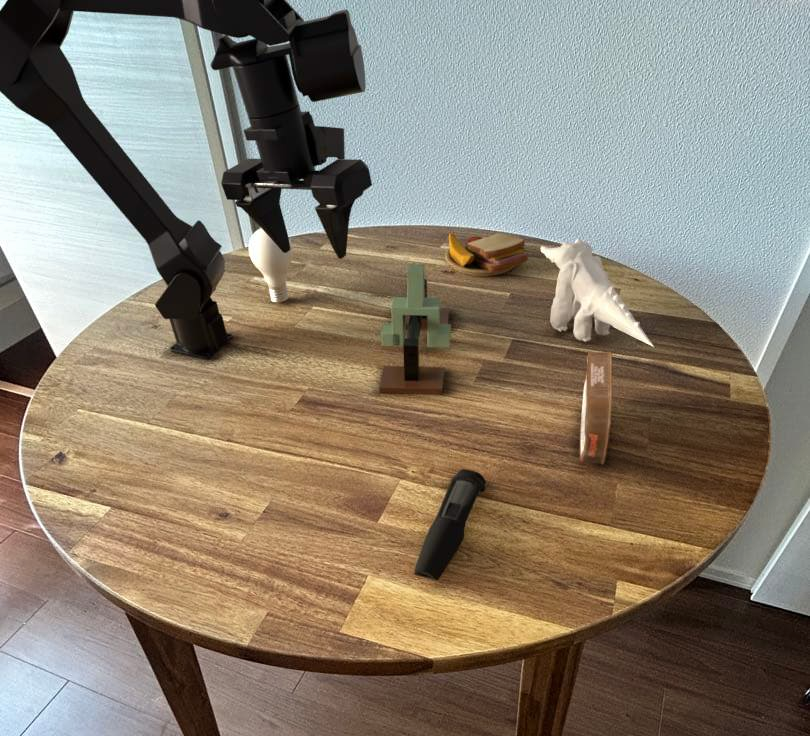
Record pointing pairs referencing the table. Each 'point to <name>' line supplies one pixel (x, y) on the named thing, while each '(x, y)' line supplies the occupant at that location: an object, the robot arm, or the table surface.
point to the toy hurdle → (414, 361)
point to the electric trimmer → (449, 524)
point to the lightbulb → (271, 263)
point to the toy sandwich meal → (485, 254)
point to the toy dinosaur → (587, 295)
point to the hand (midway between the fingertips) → (314, 254)
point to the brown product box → (596, 408)
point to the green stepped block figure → (415, 313)
